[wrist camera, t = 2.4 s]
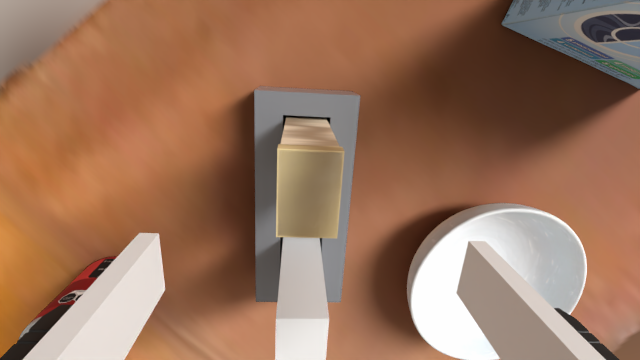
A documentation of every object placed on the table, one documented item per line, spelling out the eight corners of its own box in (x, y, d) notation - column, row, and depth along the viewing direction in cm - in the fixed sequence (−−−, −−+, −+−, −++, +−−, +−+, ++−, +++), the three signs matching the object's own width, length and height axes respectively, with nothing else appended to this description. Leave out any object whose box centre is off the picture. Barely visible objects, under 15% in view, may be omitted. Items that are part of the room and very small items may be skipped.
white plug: (283, 265, 42) (274, 378, 27) (284, 222, 40) (275, 318, 25) (315, 265, 43) (324, 377, 27) (317, 222, 41) (329, 318, 25)
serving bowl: (574, 260, 46) (618, 292, 40) (450, 344, 50) (472, 386, 44) (496, 152, 40) (533, 170, 34) (362, 257, 44) (373, 291, 38)
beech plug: (285, 167, 38) (275, 237, 23) (286, 111, 36) (277, 148, 21) (322, 168, 38) (337, 238, 23) (325, 113, 36) (344, 151, 21)
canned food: (163, 285, 44) (121, 355, 33) (117, 314, 45) (62, 391, 34) (119, 243, 41) (59, 304, 31) (72, 275, 42) (-2, 344, 32)
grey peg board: (260, 275, 44) (255, 301, 39) (260, 86, 36) (254, 89, 31) (336, 276, 45) (340, 302, 40) (352, 91, 37) (360, 95, 32)
